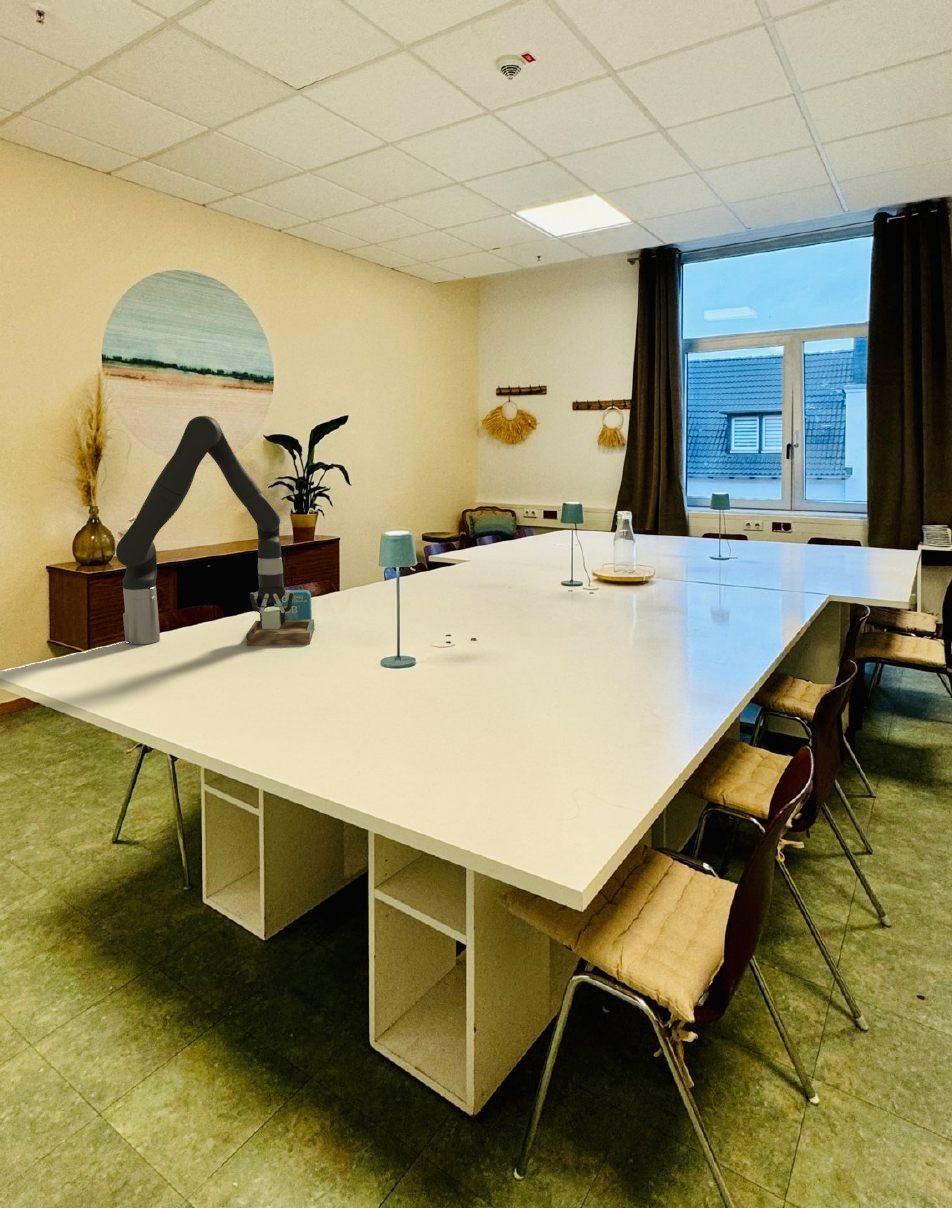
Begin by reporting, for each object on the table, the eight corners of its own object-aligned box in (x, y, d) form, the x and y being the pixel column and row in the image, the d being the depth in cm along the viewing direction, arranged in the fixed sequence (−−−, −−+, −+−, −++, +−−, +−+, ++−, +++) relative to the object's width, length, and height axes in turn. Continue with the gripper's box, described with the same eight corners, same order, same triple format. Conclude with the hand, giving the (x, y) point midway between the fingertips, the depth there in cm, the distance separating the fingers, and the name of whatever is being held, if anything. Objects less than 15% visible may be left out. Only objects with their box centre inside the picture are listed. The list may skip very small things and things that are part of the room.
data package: (275, 627, 248) (273, 592, 246) (276, 624, 252) (275, 590, 250) (310, 626, 250) (309, 592, 247) (312, 623, 254) (310, 589, 252)
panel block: (262, 629, 228) (261, 613, 227) (267, 622, 238) (267, 607, 237) (278, 628, 228) (277, 613, 227) (283, 621, 238) (282, 607, 237)
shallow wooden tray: (246, 645, 223) (246, 634, 222) (256, 630, 242) (255, 620, 242) (309, 644, 226) (309, 633, 225) (314, 629, 245) (314, 619, 245)
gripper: (245, 574, 225) (248, 627, 228) (292, 573, 227) (294, 626, 230) (249, 570, 232) (251, 622, 236) (295, 569, 234) (297, 621, 238)
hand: (273, 623), depth 233 cm, fingers closed on panel block, 5 cm apart
